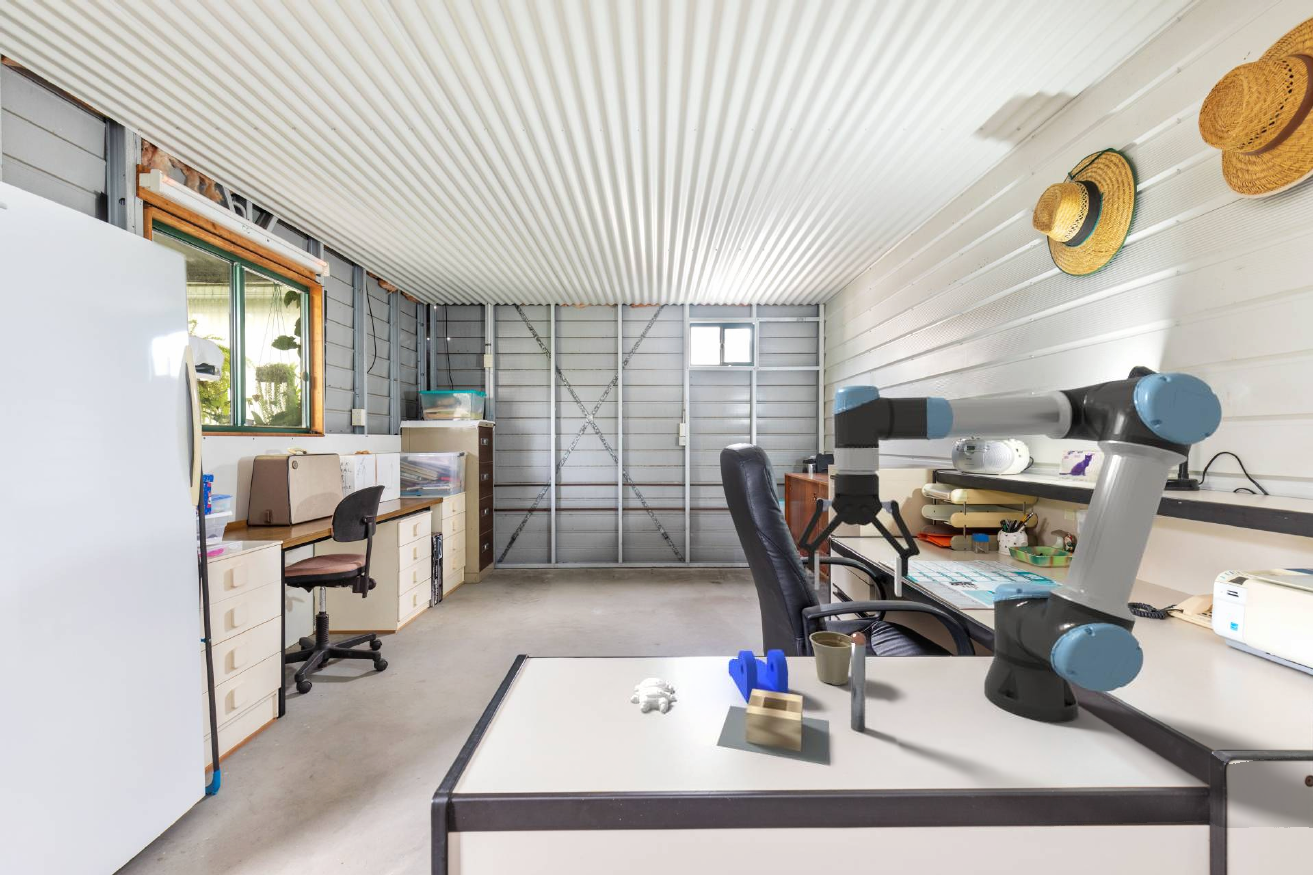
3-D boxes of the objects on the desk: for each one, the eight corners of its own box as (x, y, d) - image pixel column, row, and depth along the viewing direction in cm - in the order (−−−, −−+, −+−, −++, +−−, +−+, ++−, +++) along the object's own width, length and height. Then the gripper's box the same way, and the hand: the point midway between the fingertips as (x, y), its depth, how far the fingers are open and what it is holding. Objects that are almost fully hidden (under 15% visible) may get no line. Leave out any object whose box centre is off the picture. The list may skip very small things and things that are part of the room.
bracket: (788, 703, 104) (788, 657, 104) (746, 705, 103) (747, 659, 103) (759, 665, 122) (760, 626, 122) (724, 666, 121) (724, 627, 121)
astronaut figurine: (627, 713, 100) (627, 697, 100) (637, 684, 112) (637, 670, 112) (673, 716, 99) (673, 700, 99) (678, 687, 111) (678, 672, 111)
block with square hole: (802, 723, 96) (802, 695, 96) (800, 751, 87) (800, 720, 87) (752, 715, 98) (752, 688, 98) (745, 741, 90) (745, 712, 90)
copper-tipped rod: (865, 727, 95) (865, 630, 95) (866, 734, 93) (866, 635, 93) (849, 724, 96) (850, 629, 96) (850, 732, 93) (850, 634, 94)
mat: (828, 722, 97) (828, 720, 97) (829, 766, 83) (829, 765, 83) (730, 707, 102) (730, 705, 102) (716, 746, 89) (716, 745, 89)
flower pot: (840, 693, 108) (840, 651, 108) (800, 678, 115) (801, 638, 115) (863, 680, 114) (863, 639, 114) (824, 666, 121) (824, 628, 121)
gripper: (929, 472, 95) (929, 591, 95) (786, 470, 102) (786, 580, 102) (937, 475, 88) (938, 603, 87) (783, 472, 95) (783, 590, 95)
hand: (856, 591), depth 95 cm, fingers open, 13 cm apart
